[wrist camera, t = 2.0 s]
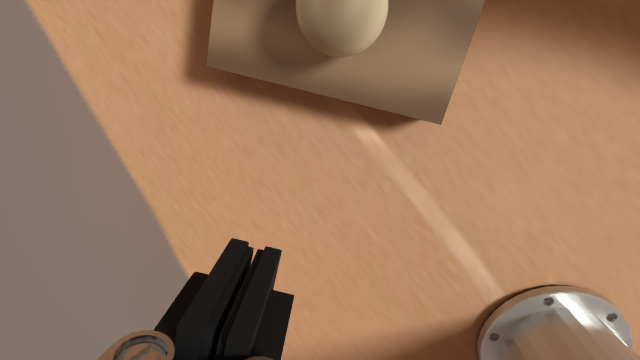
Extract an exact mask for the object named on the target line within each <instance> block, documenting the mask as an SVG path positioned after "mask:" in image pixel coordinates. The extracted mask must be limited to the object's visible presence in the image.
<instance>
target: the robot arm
mask: <svg viewBox="0 0 640 360" xmlns="http://www.w3.org/2000/svg"><path fill="white" fill-rule="evenodd" d="M248 244H249V243H248V242H246V241H242V240H238V239H234V238H232V239H231V240H230V242H229V243H228V245H227V246H226V248H225V250H224V251H223V253H222V254H221V256H220V258H219V259H218V261H217V262H216V264H215V266H214V267H213V269H212V270H211V272H210V274H209V275H208V274H204V273H199V272H195V273H193V275H192V276H191V277H190V279H189V280H188V282H187V283H186V284H185V286H184V287H183V289H182V290H181V292H180V293H179V295H178V296H177V297H176V299H175V300H174V302H173V303H172V304H171V306H170V307H169V309H168V310H167V312H166V313H165V315H164V316H163V317H162V319H161V320H160V322H159V323H158V325H157V326H156V327H155V329H154V330H142V331H137V332H133V333H130V334H128V335H126V336H124V337H122V338H120V339H119V340H118V341H116V342H115V343H114V344H113V345H112V346H111V347H110V348H109V349H107V351H105V352H104V353H103V354H102V355H101V356H100V357H99V358H98V359H97V360H281V355H282V351H283V346H284V341H285V337H286V332H287V327H288V322H289V318H290V313H291V308H292V304H293V299H294V295H291V294H287V293H283V292H279V291H275V290H273V287H274V283H275V278H276V274H277V270H278V265H279V261H280V256H281V251H282V250H279V249H275V248H271V247H267V246H266V247H265V249H264V250H260V249H258V250H257V253H256V255H255V257H254V259H253V261H252V264H251V260H252V255H253V249H254V248H252V247H248ZM250 265H251V266H250ZM631 346H632V335H631V331H630V327H629V324H628V322H627V321H626V319H625V318H624V316H623V314H622V313H621V312H620V311H619V310H618V309H617V308H616V307H615V306H614V305H613V304H612V303H610V302H609V301H608V300H606V299H605V298H604V297H602V296H601V295H599V294H596V293H594V292H592V291H590V290H586V289H582V288H578V287H572V286H548V287H542V288H538V289H533V290H530V291H527V292H524V293H522V294H519V295H517V296H515V297H513V298H512V299H510V300H508V301H506V302H505V303H504V304H502V305H501V306H500V307H499V308H497V309H496V310H495V311H494V312H493V313H492V314H491V316H490V317H489V318H488V319H487V320H486V322H485V324H484V326H483V327H482V329H481V331H480V335H479V338H478V345H477V352H478V357H479V360H640V357H639V356H638V355H637V354H636V353H635V352H634V351H633V350H632V349H631Z"/></svg>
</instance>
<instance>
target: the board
mask: <svg viewBox="0 0 640 360" xmlns="http://www.w3.org/2000/svg"><path fill="white" fill-rule="evenodd" d="M484 2H485V0H388V13H387V18H386V22H385V25H384V27H383V29H382V31H381V33H380V35H379V36H378V38H377V39H376V40H375V41H374V43H373V44H371V45H370V46H369V47H368V48H367V49H365V50H364V51H362V52H360V53H358V54H356V55H353V56H349V57H333V56H329V55H326V54H323V53H321V52H320V51H318V50H317V49H315V48H314V47H313V46H312V45H311V44H310V43H309V42H308V41H307V40H306V38H305V37H304V35H303V34H302V32H301V30H300V27H299V25H298V21H297V17H296V0H214V1H213V10H212V18H211V27H210V35H209V44H208V53H207V61H206V66H207V67H211V68H215V69H219V70H223V71H227V72H231V73H235V74H239V75H243V76H247V77H251V78H255V79H259V80H263V81H267V82H271V83H275V84H279V85H283V86H287V87H291V88H295V89H299V90H303V91H307V92H311V93H315V94H319V95H323V96H327V97H331V98H335V99H339V100H343V101H347V102H351V103H356V104H360V105H364V106H368V107H372V108H376V109H380V110H384V111H388V112H392V113H396V114H400V115H404V116H408V117H412V118H416V119H420V120H424V121H428V122H432V123H436V124H440V125H441V123H442V121H443V118H444V115H445V112H446V109H447V107H448V104H449V101H450V98H451V95H452V92H453V90H454V87H455V84H456V81H457V78H458V76H459V73H460V70H461V67H462V64H463V62H464V59H465V56H466V53H467V50H468V47H469V45H470V42H471V39H472V36H473V33H474V31H475V28H476V25H477V22H478V19H479V17H480V14H481V11H482V8H483V5H484Z"/></svg>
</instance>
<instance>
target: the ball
mask: <svg viewBox="0 0 640 360" xmlns="http://www.w3.org/2000/svg"><path fill="white" fill-rule="evenodd" d="M387 13H388V0H296V17H297V21H298V25H299V27H300V30H301V32H302V34H303V35H304V37H305V38H306V40H307V41H308V42H309V43H310V44H311V45H312V46H313V47H314V48H315V49H317V50H318V51H320V52H321V53H323V54H326V55H329V56H333V57H349V56H353V55H356V54H358V53H360V52H362V51H364V50H365V49H367V48H368V47H369V46H370V45H371V44H373V43H374V41H375V40H376V39H377V38H378V36H379V35H380V33H381V31H382V29H383V27H384V25H385V22H386V18H387Z"/></svg>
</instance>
